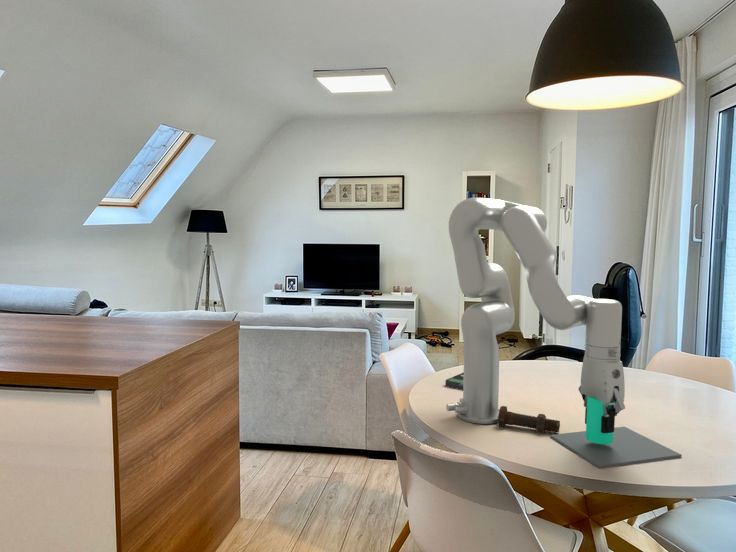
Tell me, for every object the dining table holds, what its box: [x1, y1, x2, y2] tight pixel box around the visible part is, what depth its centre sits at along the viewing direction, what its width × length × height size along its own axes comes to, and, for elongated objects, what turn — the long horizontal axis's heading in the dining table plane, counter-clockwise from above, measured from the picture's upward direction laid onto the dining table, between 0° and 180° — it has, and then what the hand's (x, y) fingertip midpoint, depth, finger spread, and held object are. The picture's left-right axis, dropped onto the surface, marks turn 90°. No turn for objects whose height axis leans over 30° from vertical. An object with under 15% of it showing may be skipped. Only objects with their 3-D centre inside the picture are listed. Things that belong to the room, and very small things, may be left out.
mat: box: [549, 426, 683, 469], centre depth 128 cm, size 22×18×1 cm
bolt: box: [497, 405, 561, 434], centre depth 139 cm, size 6×5×15 cm
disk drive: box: [444, 371, 464, 391], centre depth 179 cm, size 10×3×15 cm
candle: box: [585, 396, 613, 444], centre depth 126 cm, size 6×6×12 cm
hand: (599, 427), depth 126 cm, fingers closed on candle, 4 cm apart
